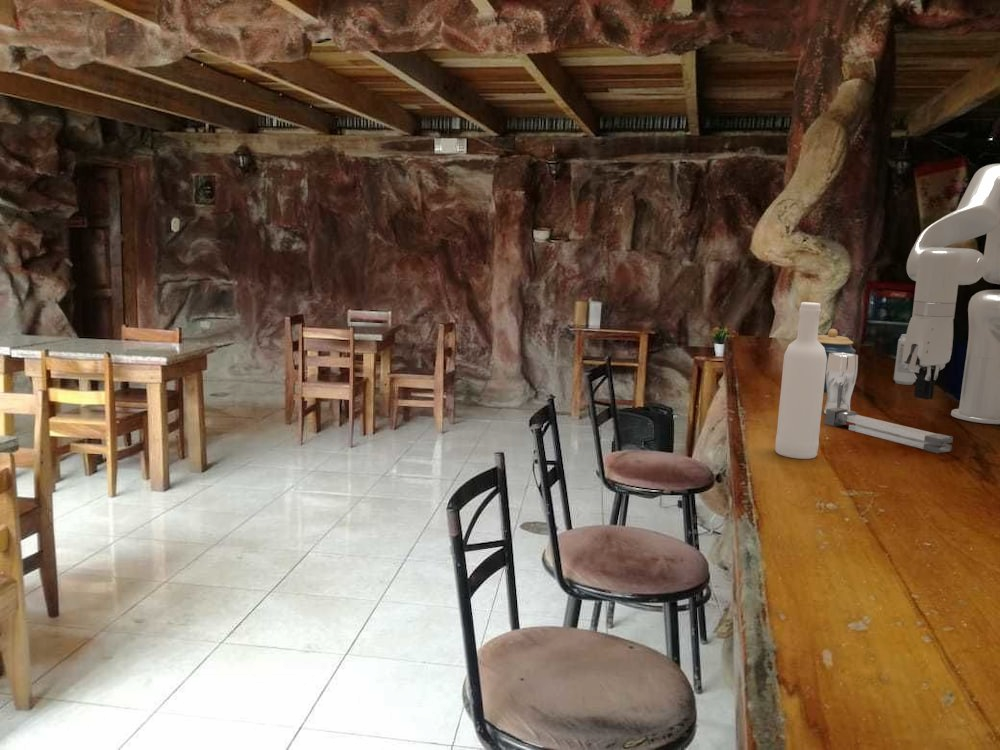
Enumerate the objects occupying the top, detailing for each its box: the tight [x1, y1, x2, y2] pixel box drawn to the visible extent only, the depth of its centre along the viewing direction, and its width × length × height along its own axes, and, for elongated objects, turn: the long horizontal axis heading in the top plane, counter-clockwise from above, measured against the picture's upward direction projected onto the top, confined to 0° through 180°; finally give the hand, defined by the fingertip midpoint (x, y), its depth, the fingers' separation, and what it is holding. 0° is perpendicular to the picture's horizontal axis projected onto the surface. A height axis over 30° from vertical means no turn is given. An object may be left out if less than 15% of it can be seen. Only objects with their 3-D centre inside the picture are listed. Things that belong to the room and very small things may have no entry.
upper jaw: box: [836, 410, 954, 445], centre depth 166 cm, size 24×5×2 cm, turn 29°
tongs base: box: [824, 407, 953, 454], centre depth 168 cm, size 27×5×4 cm, turn 29°
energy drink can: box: [893, 333, 916, 386], centre depth 235 cm, size 6×6×15 cm
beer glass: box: [823, 352, 859, 415], centre depth 188 cm, size 7×7×15 cm
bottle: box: [775, 301, 827, 460], centre depth 150 cm, size 8×8×30 cm
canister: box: [817, 328, 857, 393], centre depth 222 cm, size 13×13×18 cm
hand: (923, 397), depth 160 cm, fingers closed
